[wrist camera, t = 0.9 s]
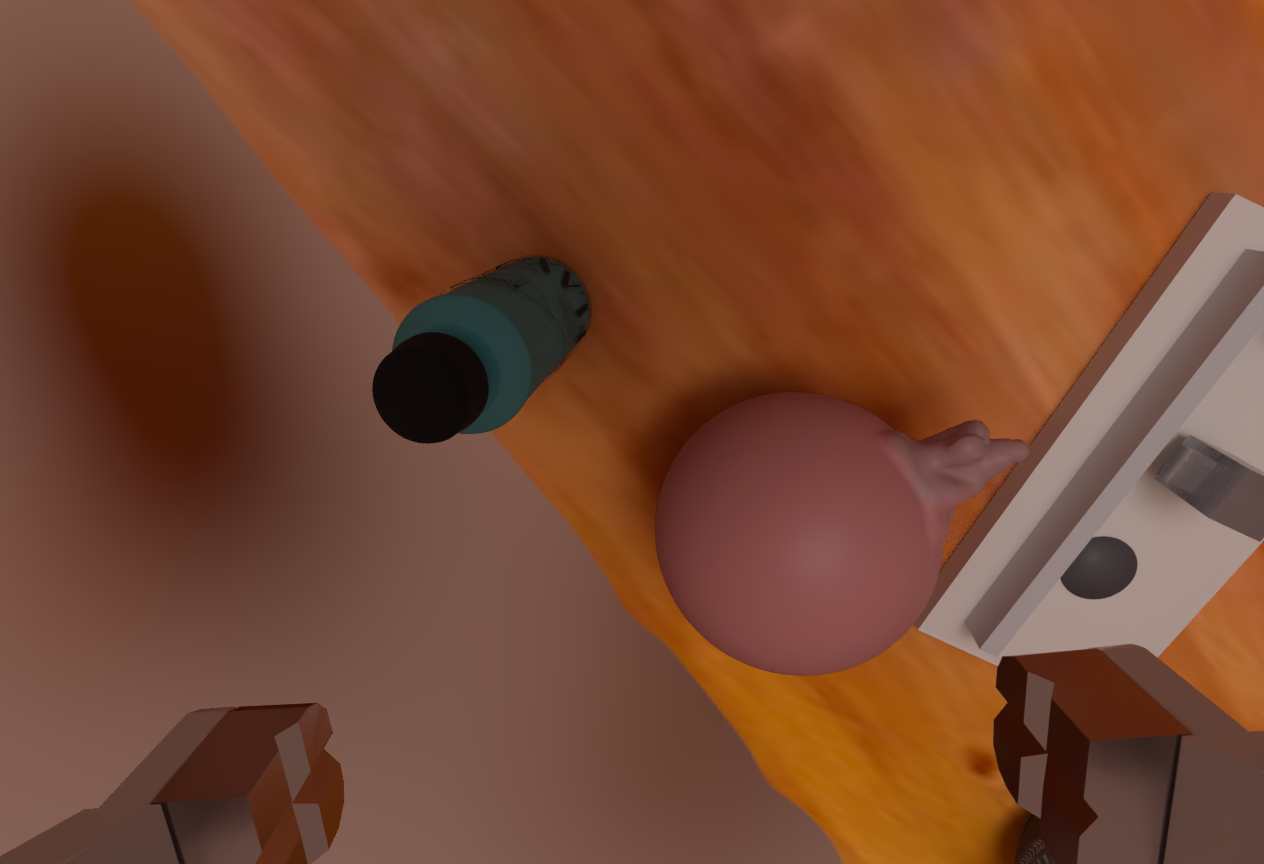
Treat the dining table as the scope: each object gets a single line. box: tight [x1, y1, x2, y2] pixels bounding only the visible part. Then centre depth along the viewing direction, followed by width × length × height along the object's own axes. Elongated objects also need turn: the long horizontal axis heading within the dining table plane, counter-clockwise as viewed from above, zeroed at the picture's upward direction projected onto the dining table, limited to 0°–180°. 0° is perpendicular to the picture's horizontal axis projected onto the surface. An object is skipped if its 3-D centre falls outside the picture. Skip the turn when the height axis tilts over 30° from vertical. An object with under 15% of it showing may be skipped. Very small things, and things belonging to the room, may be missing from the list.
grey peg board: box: [915, 193, 1264, 666], centre depth 41 cm, size 30×14×7 cm, turn 156°
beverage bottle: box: [372, 255, 592, 443], centre depth 36 cm, size 6×7×20 cm
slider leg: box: [1154, 435, 1264, 542], centre depth 39 cm, size 3×4×5 cm, turn 66°
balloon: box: [655, 392, 1029, 676], centre depth 40 cm, size 15×20×15 cm
